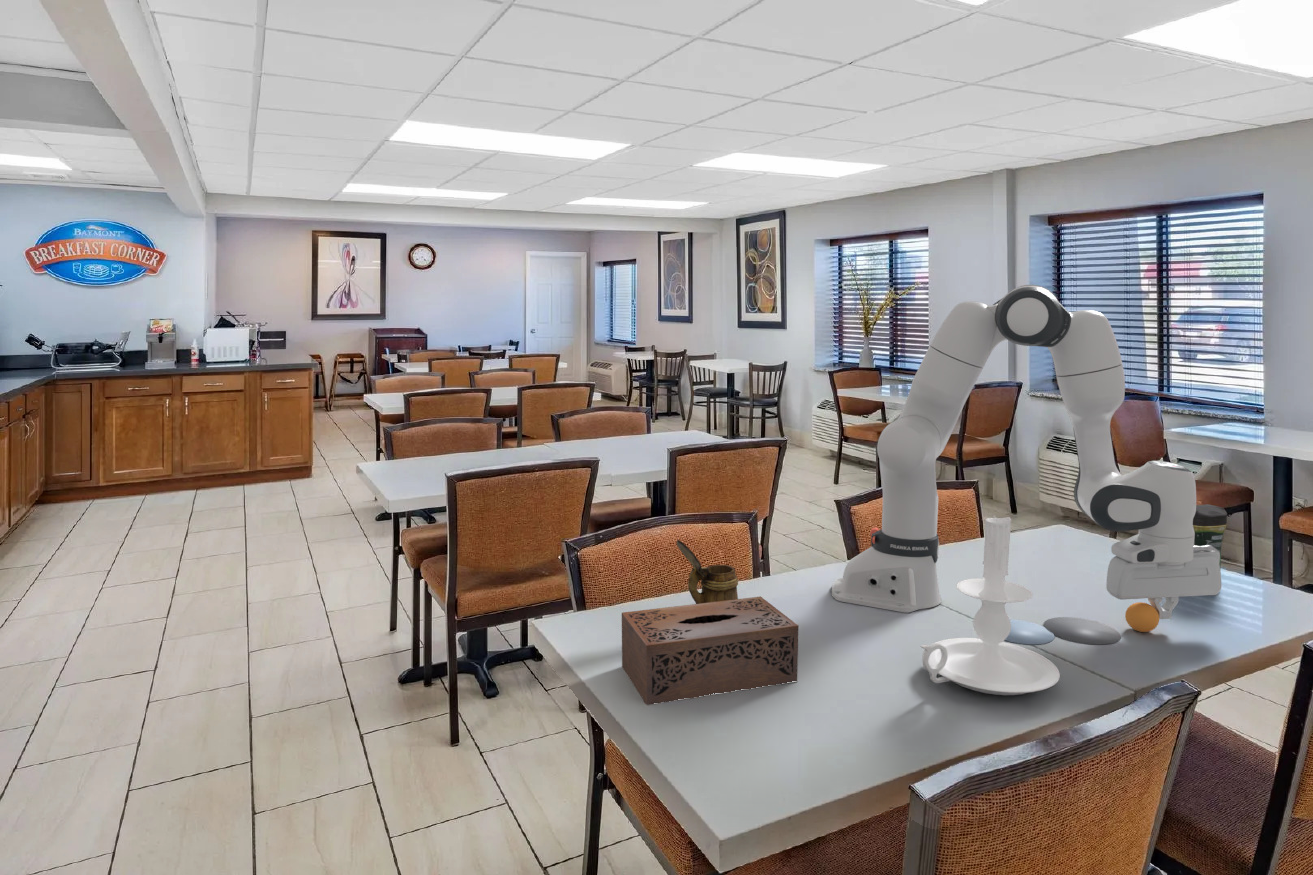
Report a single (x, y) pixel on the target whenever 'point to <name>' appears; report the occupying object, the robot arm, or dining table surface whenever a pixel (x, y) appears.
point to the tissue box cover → (708, 648)
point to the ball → (1142, 617)
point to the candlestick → (991, 632)
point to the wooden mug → (710, 579)
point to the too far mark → (1028, 633)
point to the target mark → (1082, 630)
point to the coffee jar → (1209, 526)
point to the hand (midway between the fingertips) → (1162, 618)
